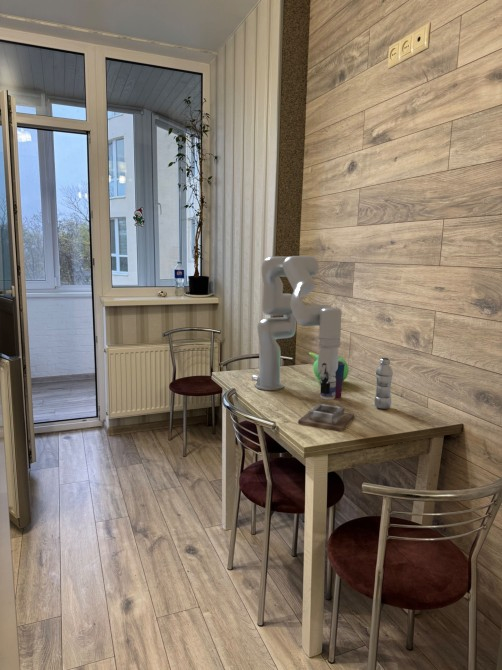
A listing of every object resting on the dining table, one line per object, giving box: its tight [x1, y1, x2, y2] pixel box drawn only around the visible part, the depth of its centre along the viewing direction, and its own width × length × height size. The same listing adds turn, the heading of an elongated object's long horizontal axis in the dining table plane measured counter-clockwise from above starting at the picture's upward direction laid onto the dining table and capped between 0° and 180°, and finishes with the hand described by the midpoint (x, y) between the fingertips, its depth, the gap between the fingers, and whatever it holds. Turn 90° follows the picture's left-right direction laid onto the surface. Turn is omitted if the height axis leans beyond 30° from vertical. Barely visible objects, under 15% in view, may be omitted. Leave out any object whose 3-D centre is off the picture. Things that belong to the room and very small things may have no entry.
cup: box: [334, 361, 345, 399], centre depth 200 cm, size 7×7×15 cm
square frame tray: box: [297, 403, 355, 432], centre depth 173 cm, size 16×16×4 cm
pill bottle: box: [320, 373, 336, 400], centre depth 171 cm, size 5×5×10 cm
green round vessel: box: [308, 352, 350, 382], centre depth 221 cm, size 18×17×15 cm
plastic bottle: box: [373, 357, 394, 410], centre depth 186 cm, size 6×7×20 cm
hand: (327, 390), depth 171 cm, fingers closed on pill bottle, 5 cm apart
